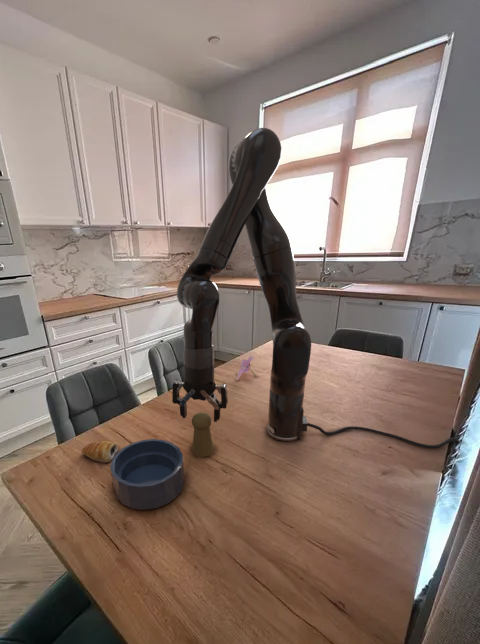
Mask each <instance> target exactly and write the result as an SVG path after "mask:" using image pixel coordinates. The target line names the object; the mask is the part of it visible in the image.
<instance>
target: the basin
mask: <svg viewBox="0 0 480 644" xmlns="http://www.w3.org/2000/svg"><path fill="white" fill-rule="evenodd" d="M110 462H111V463H110V466H109V469H110V473H111V480H112V485H113V490H114V494H115V498H116V499H117V500H118V501H119V502H120V503H121V504H122V505H124V506H126V507H127V508H130V509H134V510H142V511H145V510H155V509H158V508H161V507H163V506H166V505H168V504H170V503H171V502H172V501H174V500H175V499H176V498H177V497H179V495H180V493H181V492H182V490H183V488H184V485H185V482H186V481H185V468H184V455H183V452H182V451H181V449H180V447H178V446H177V445H176V444H174V443H173V442H171V441H169V440H165V439H158V438H150V439H142V440H138V441H135V442H134V441H133V442H131V443H130V444H127V445H126V446H124V447H122V448H121V449H120V450H118V451H117V452H116V453H115V454H114V457H113V458H112V460H111V461H110Z"/></svg>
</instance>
